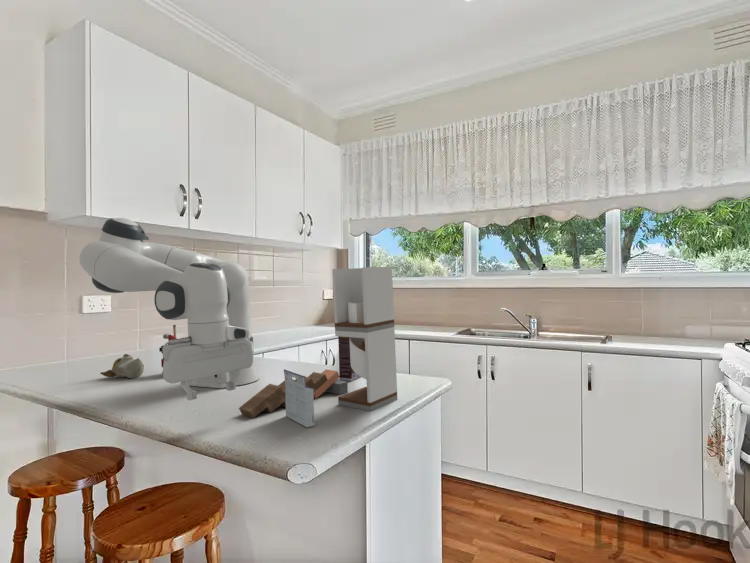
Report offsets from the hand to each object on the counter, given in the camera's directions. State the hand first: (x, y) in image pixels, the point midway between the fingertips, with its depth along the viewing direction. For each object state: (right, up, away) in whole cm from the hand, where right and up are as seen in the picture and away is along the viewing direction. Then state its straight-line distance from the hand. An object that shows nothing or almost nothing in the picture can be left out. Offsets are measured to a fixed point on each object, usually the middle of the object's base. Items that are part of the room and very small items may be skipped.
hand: (212, 394), depth 101 cm
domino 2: (+9, -6, +10) cm, 15 cm away
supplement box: (+30, -6, +42) cm, 52 cm away
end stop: (+25, -6, +27) cm, 37 cm away
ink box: (+20, -7, +2) cm, 21 cm away
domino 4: (+16, -6, +17) cm, 24 cm away
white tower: (+35, -6, +14) cm, 39 cm away
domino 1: (+6, -6, +6) cm, 11 cm away
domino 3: (+13, -6, +14) cm, 19 cm away
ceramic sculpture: (-52, -9, +58) cm, 79 cm away
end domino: (+19, -5, +21) cm, 28 cm away
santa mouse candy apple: (-35, -8, +59) cm, 69 cm away
